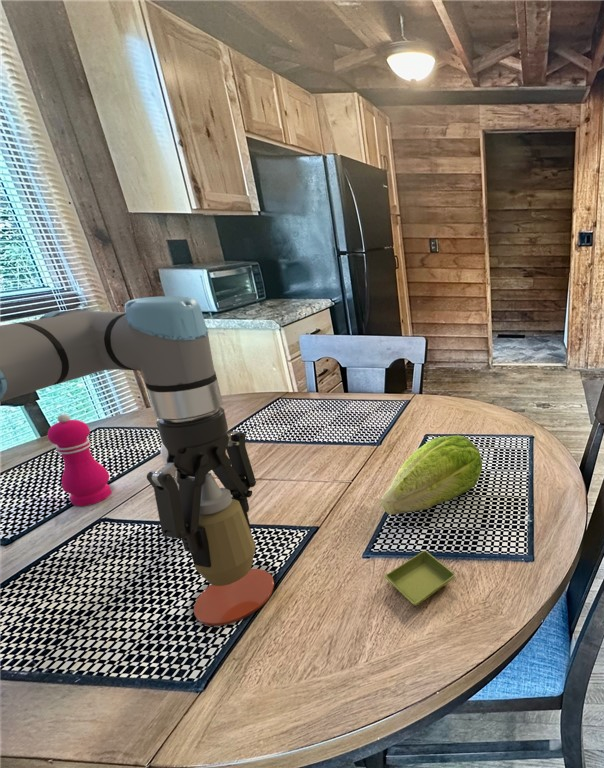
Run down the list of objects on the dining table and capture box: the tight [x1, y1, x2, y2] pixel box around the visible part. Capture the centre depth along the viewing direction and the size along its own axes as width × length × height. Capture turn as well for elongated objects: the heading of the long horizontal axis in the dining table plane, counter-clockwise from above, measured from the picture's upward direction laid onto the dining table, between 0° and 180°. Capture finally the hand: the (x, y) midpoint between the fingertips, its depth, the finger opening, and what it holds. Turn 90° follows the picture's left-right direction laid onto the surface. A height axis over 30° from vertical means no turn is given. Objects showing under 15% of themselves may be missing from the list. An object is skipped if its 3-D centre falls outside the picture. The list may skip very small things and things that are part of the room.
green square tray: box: [384, 550, 456, 607], centre depth 71 cm, size 9×9×2 cm
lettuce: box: [380, 434, 483, 516], centre depth 93 cm, size 14×24×15 cm
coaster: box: [193, 568, 275, 627], centre depth 68 cm, size 11×11×1 cm
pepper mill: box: [46, 413, 112, 507], centre depth 88 cm, size 7×7×20 cm
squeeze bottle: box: [194, 473, 257, 586], centre depth 63 cm, size 8×8×18 cm
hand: (224, 547), depth 65 cm, fingers closed on squeeze bottle, 6 cm apart
